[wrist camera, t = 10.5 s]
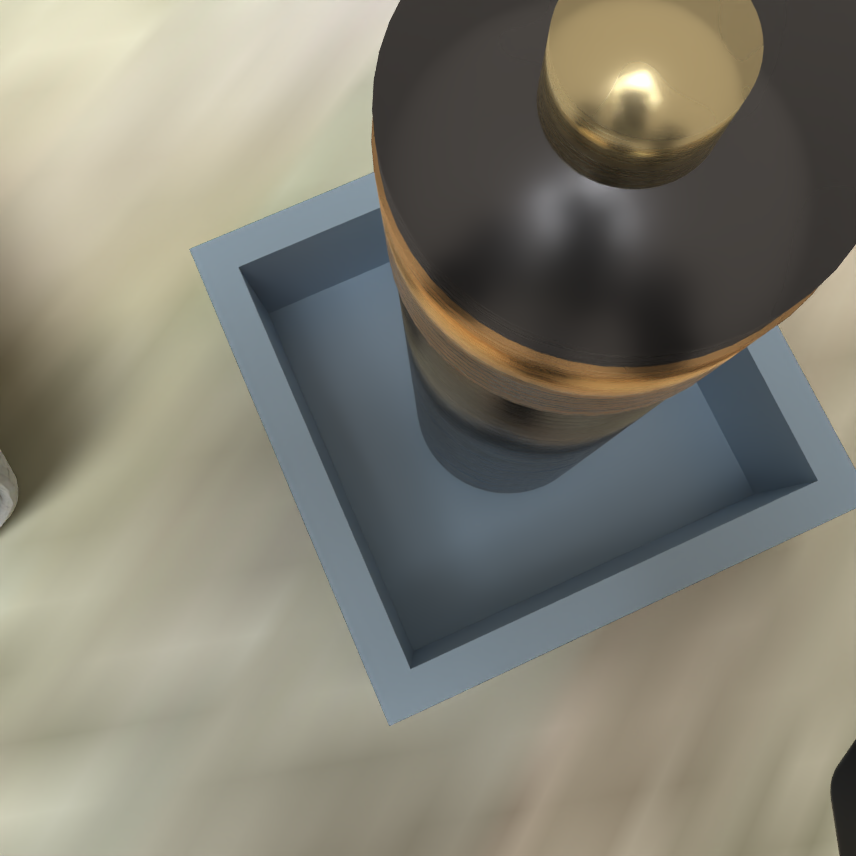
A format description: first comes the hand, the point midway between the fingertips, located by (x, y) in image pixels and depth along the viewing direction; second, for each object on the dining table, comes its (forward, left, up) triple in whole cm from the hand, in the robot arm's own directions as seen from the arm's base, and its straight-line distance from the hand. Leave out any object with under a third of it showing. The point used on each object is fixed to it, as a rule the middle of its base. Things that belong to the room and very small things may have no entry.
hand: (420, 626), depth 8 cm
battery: (+3, -4, -11) cm, 12 cm away
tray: (+3, -4, -12) cm, 13 cm away
